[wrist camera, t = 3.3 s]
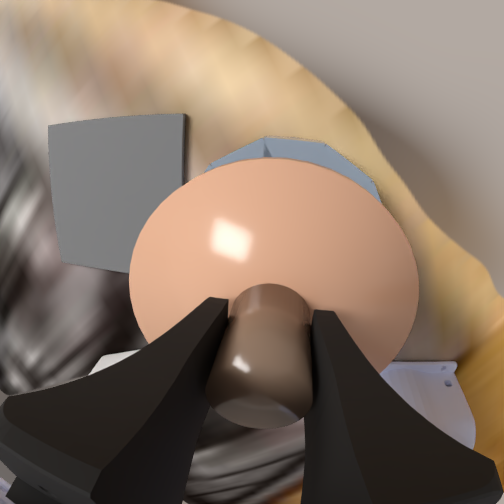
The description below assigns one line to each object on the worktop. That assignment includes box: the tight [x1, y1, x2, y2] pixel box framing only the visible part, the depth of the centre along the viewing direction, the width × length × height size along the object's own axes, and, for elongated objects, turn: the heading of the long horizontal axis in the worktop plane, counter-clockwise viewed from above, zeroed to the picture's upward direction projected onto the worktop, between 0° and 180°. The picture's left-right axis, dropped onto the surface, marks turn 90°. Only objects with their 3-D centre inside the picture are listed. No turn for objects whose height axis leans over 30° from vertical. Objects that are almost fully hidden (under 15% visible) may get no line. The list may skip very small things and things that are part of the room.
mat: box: [48, 114, 185, 273], centre depth 20 cm, size 11×11×1 cm
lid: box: [129, 157, 419, 429], centre depth 9 cm, size 10×10×4 cm
